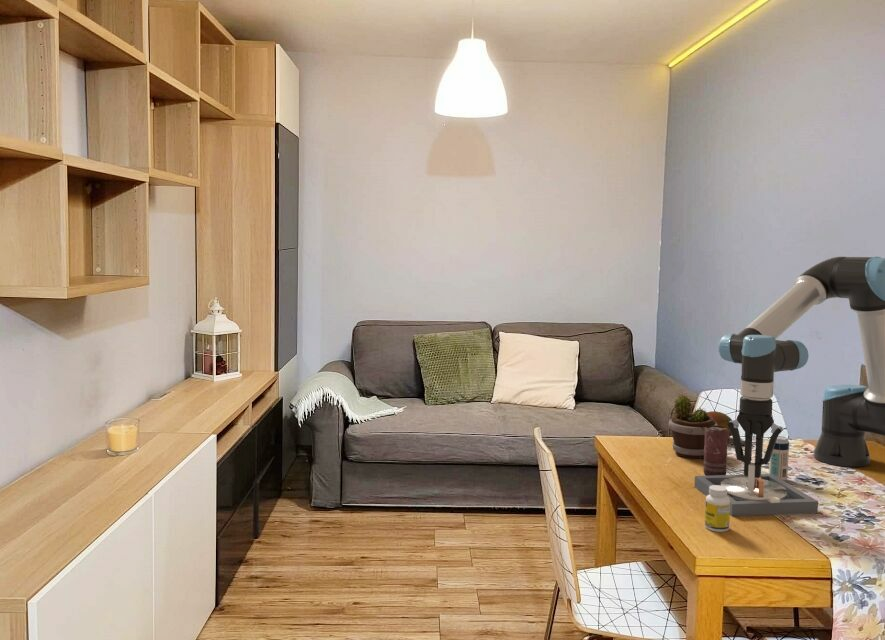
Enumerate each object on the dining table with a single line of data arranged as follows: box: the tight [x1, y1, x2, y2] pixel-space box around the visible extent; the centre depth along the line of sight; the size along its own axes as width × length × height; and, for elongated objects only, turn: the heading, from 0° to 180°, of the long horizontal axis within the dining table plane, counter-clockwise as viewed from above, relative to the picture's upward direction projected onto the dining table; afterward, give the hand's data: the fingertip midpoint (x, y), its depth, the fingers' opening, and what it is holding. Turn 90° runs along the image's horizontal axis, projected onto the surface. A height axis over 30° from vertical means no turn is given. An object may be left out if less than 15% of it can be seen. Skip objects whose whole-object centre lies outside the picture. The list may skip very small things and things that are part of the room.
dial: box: [721, 477, 787, 501], centre depth 194 cm, size 16×16×6 cm
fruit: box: [705, 410, 733, 438], centre depth 252 cm, size 12×12×10 cm
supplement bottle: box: [704, 485, 731, 533], centre depth 175 cm, size 5×5×10 cm
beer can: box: [768, 435, 790, 482], centre depth 210 cm, size 5×5×12 cm
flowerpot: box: [668, 392, 718, 459], centre depth 234 cm, size 14×15×20 cm
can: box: [703, 426, 730, 476], centre depth 214 cm, size 6×6×14 cm
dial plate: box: [694, 473, 819, 517], centre depth 194 cm, size 22×22×4 cm
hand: (751, 489), depth 188 cm, fingers closed
